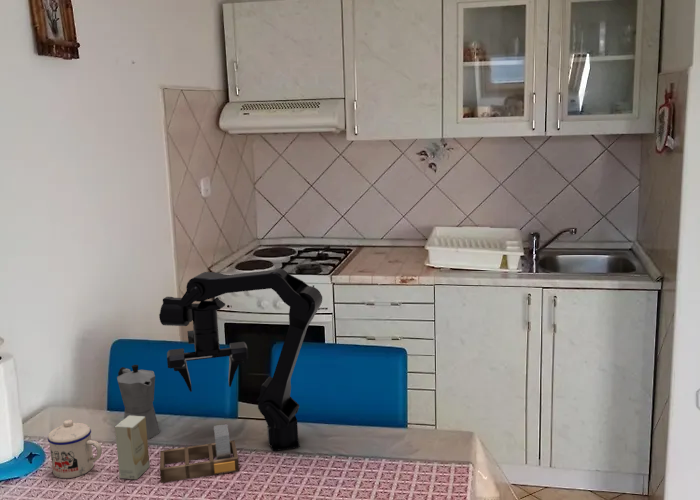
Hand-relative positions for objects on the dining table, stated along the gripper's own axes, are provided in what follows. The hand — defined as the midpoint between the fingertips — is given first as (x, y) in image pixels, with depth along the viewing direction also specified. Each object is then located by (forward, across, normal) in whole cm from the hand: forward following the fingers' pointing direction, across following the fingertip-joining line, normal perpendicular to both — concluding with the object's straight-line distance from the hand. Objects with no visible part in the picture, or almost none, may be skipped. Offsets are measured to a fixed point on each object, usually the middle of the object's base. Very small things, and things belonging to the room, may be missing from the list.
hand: (210, 388), depth 167 cm
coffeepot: (+13, +18, -10) cm, 24 cm away
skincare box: (+13, +18, +11) cm, 25 cm away
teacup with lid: (+13, +30, +6) cm, 34 cm away
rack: (+13, +4, +13) cm, 19 cm away
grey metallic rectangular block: (+13, -1, +13) cm, 19 cm away
